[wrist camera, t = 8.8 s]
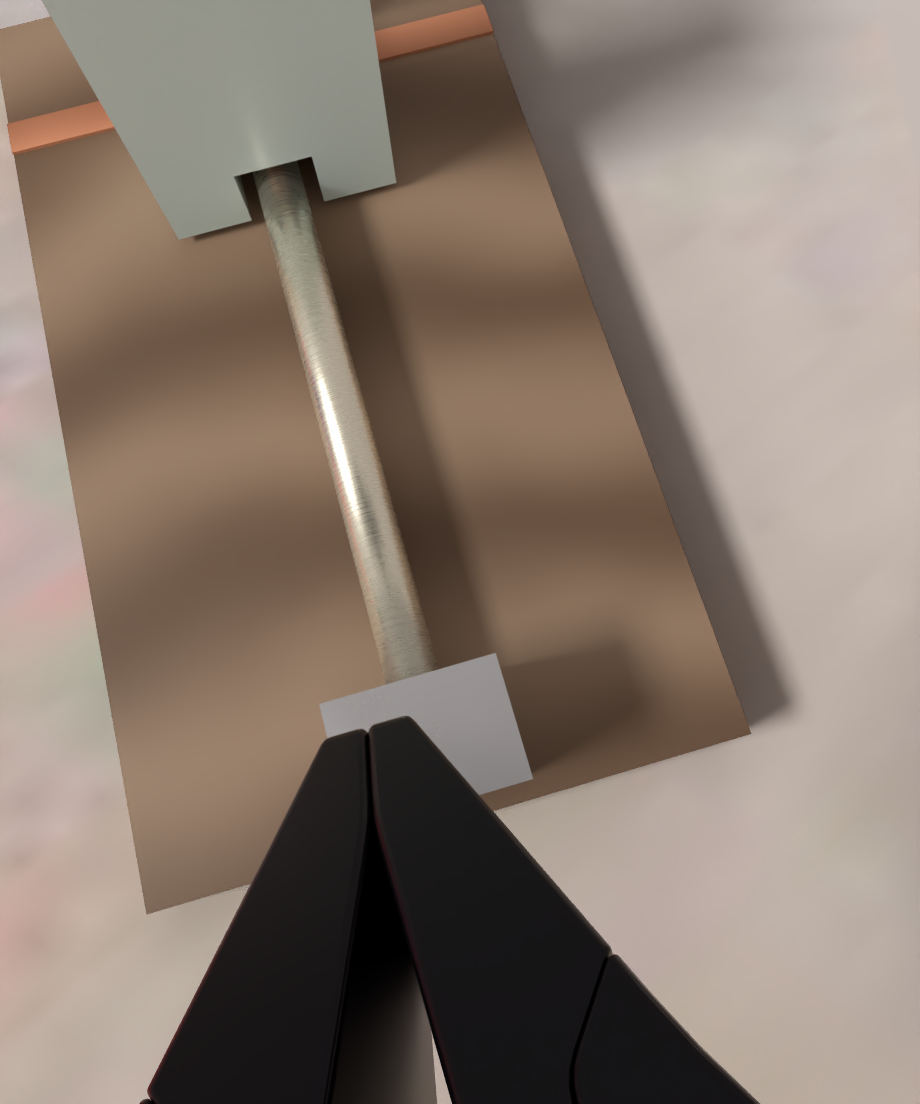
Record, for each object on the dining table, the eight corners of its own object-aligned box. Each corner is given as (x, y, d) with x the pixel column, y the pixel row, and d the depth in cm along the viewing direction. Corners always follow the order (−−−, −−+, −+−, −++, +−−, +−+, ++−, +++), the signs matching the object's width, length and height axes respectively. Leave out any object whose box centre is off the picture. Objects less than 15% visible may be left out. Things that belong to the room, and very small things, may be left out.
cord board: (732, 736, 20) (752, 733, 19) (171, 903, 20) (144, 915, 18) (452, -36, 26) (450, -86, 25) (19, 72, 26) (-10, 28, 24)
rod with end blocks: (551, 768, 19) (580, 768, 14) (345, 829, 19) (290, 854, 14) (311, -22, 26) (263, -244, 20) (152, 17, 25) (59, -196, 20)
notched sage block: (396, 182, 22) (339, -205, 13) (178, 239, 22) (-27, -118, 13) (360, 66, 23) (285, -367, 14) (151, 119, 23) (-57, -289, 14)
